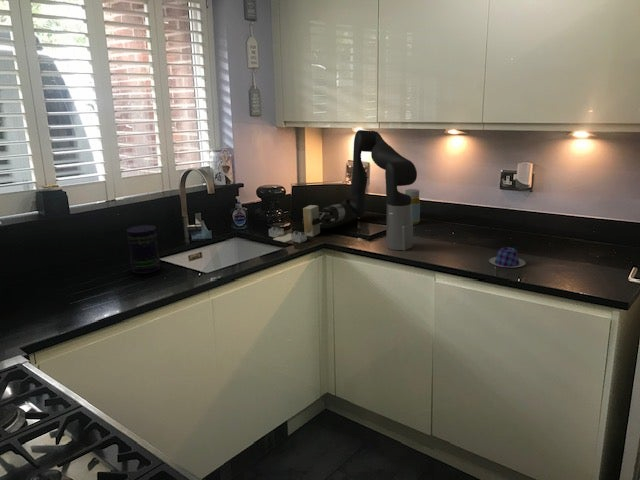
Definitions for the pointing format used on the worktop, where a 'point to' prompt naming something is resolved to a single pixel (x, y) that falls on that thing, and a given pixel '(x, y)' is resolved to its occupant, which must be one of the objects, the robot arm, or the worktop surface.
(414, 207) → the bottle
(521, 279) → the worktop surface
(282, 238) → the seat pad
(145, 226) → the storage jar
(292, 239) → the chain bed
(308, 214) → the skincare box
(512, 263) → the blue plaid hat
